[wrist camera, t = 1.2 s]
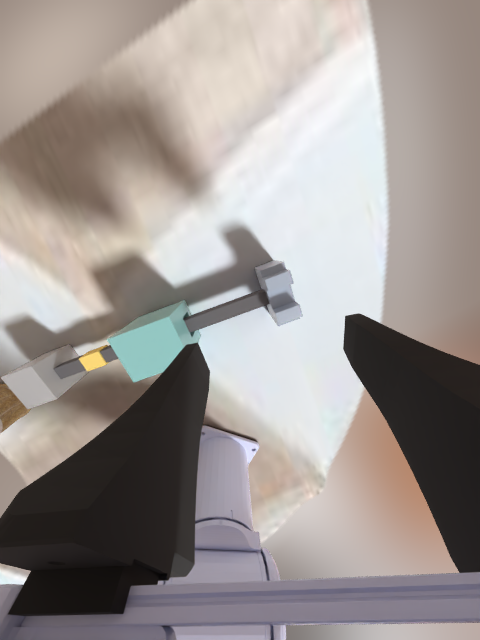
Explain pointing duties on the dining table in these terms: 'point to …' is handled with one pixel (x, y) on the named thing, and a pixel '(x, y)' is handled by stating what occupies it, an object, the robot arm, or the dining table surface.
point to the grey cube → (42, 378)
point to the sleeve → (153, 341)
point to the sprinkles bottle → (10, 407)
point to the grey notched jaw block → (278, 292)
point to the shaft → (192, 322)
